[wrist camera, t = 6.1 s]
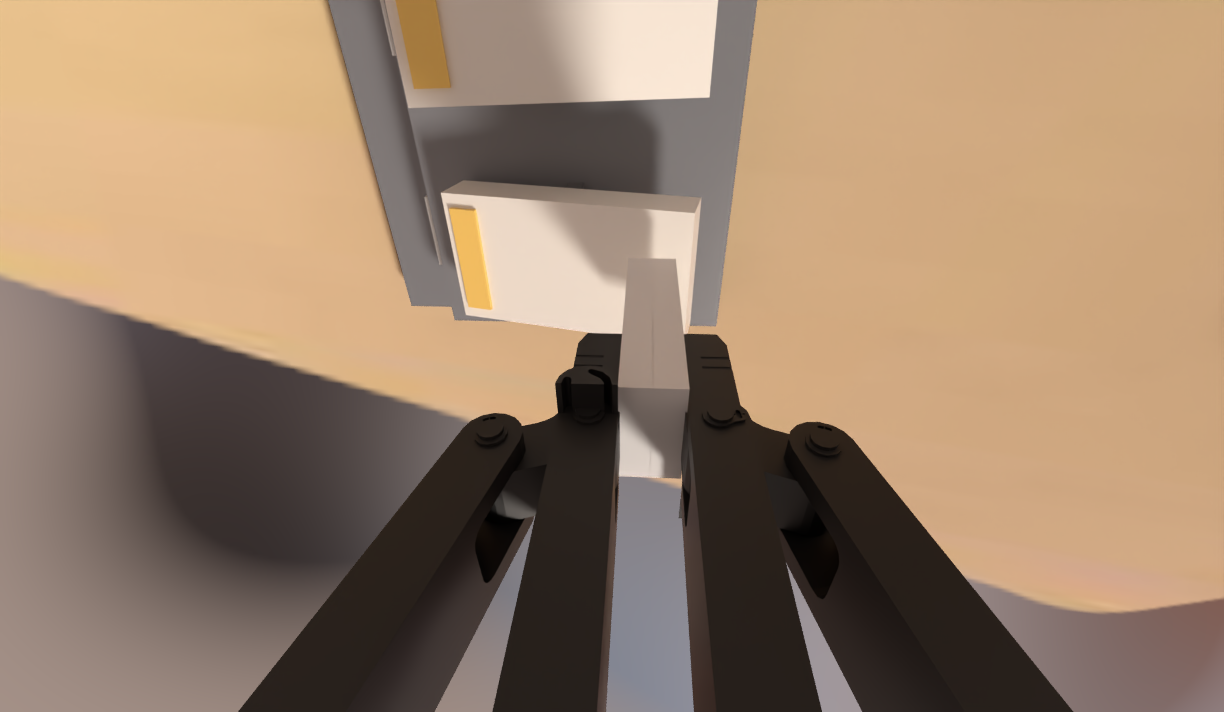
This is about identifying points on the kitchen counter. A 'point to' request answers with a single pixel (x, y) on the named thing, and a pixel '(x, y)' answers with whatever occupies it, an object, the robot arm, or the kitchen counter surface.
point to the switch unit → (545, 150)
